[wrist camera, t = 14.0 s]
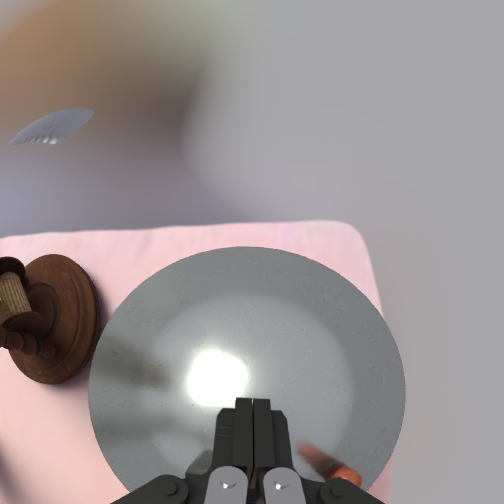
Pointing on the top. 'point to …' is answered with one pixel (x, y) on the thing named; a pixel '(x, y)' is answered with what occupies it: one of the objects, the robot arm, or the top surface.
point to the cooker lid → (246, 367)
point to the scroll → (48, 316)
